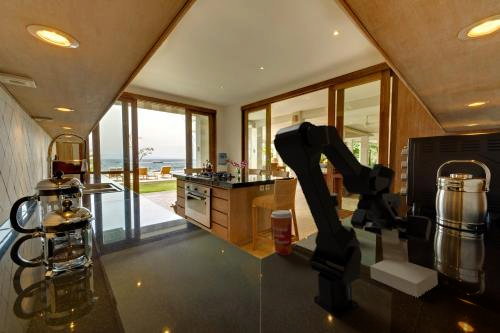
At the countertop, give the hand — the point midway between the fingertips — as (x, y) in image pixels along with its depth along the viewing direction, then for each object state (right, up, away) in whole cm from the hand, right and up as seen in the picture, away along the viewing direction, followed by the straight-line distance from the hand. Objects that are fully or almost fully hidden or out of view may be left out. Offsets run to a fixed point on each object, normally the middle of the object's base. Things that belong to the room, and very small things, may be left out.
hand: (396, 239), depth 61 cm
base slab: (-6, -7, -11) cm, 14 cm away
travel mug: (-10, -8, +25) cm, 28 cm away
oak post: (-1, -7, -1) cm, 7 cm away
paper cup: (-32, -9, +10) cm, 35 cm away
